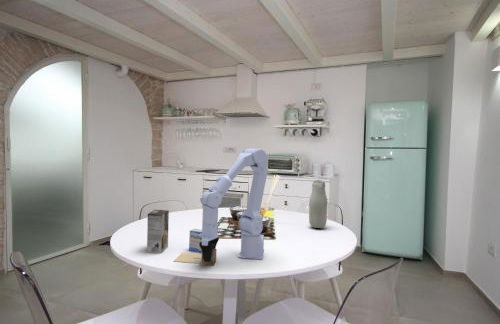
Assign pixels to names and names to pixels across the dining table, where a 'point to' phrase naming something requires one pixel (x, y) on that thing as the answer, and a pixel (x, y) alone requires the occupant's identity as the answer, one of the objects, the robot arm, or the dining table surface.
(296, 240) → the dining table surface
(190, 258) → the kraft envelope
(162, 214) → the coffee box
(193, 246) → the medicine box
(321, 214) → the grey bottle
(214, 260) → the walnut cube
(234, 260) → the dining table surface
